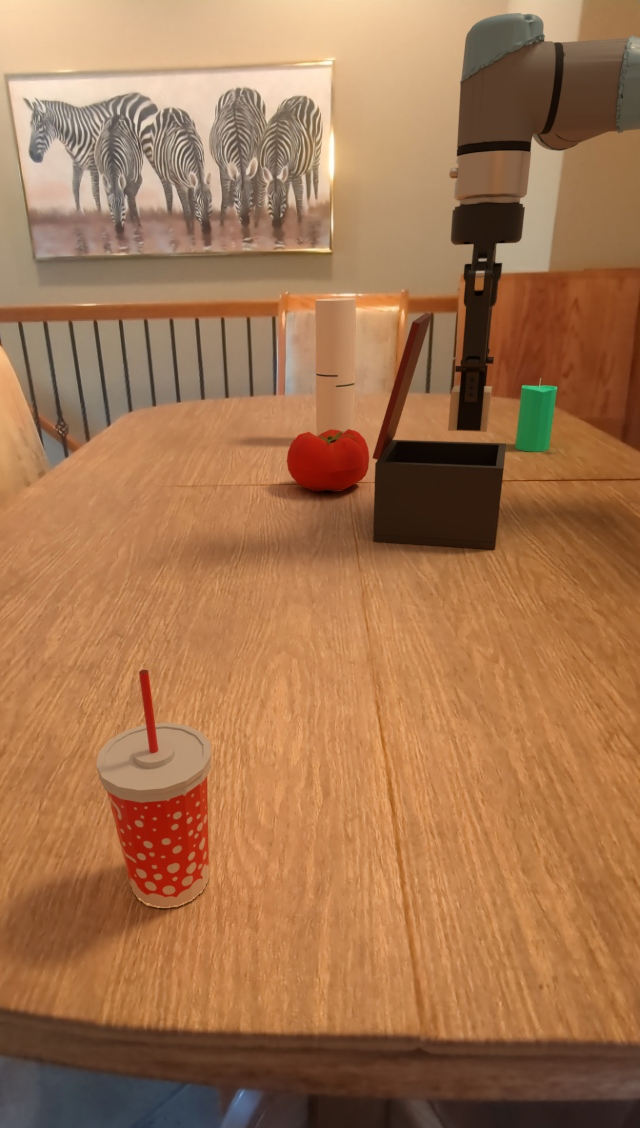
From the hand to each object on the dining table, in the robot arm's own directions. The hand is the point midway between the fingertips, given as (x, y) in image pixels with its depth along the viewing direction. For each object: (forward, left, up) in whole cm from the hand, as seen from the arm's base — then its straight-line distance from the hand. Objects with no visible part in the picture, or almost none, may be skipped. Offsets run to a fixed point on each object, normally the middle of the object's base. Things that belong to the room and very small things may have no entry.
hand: (469, 424), depth 91 cm
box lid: (+8, 0, +4) cm, 9 cm away
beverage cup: (+12, +66, -14) cm, 68 cm away
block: (0, 0, 0) cm, 0 cm away
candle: (-9, -48, -14) cm, 51 cm away
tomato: (+21, -16, -14) cm, 30 cm away
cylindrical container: (+27, -47, -14) cm, 56 cm away
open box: (+3, 0, -13) cm, 14 cm away
